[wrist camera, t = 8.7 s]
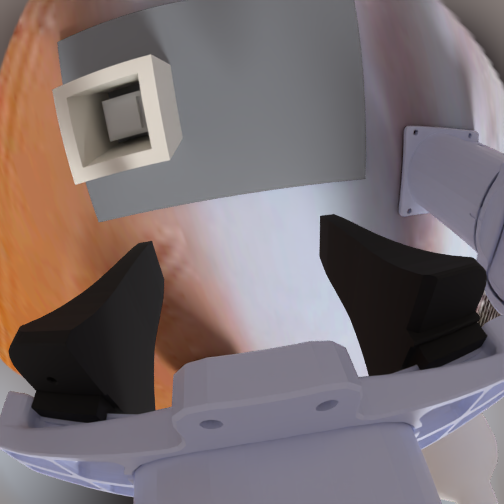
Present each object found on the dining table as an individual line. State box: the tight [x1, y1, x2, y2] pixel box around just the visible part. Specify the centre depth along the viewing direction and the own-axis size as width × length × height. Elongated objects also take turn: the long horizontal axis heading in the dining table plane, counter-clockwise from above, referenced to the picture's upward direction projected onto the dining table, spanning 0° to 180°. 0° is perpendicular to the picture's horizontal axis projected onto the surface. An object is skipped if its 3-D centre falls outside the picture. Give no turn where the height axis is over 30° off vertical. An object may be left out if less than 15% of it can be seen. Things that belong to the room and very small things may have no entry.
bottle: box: [421, 413, 498, 504], centre depth 19 cm, size 8×8×30 cm
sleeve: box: [52, 54, 183, 185], centre depth 13 cm, size 5×5×6 cm
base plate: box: [57, 0, 366, 222], centre depth 15 cm, size 20×14×4 cm
